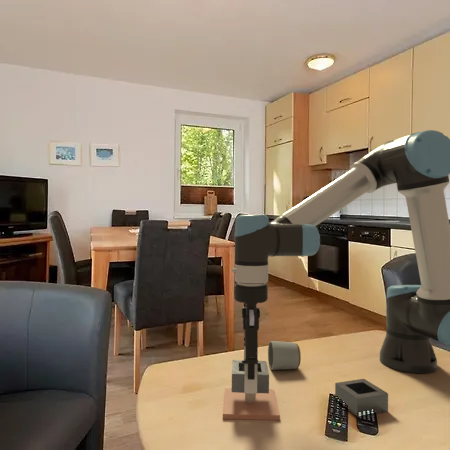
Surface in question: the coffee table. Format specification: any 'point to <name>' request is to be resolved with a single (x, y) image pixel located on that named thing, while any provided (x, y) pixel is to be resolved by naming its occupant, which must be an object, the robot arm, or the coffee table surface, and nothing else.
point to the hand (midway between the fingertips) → (250, 383)
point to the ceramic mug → (283, 355)
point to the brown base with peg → (250, 405)
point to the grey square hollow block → (362, 396)
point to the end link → (239, 374)
